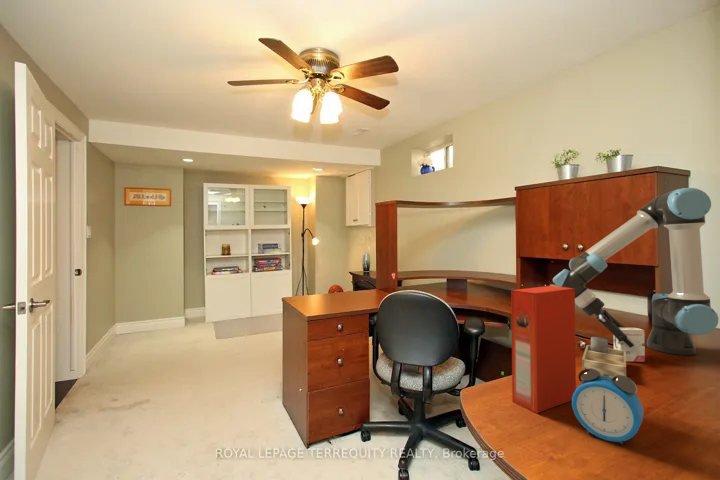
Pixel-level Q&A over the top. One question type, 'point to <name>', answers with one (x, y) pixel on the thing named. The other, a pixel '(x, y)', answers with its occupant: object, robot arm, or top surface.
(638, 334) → the ink box
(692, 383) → the top surface
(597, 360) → the desk organizer
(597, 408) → the alarm clock
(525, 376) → the file binder
